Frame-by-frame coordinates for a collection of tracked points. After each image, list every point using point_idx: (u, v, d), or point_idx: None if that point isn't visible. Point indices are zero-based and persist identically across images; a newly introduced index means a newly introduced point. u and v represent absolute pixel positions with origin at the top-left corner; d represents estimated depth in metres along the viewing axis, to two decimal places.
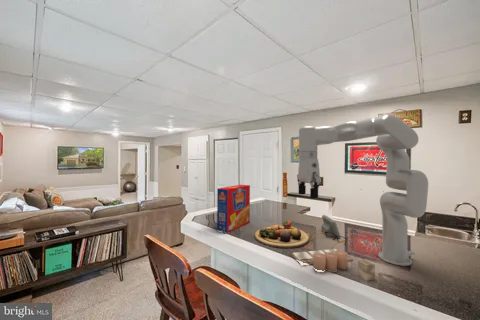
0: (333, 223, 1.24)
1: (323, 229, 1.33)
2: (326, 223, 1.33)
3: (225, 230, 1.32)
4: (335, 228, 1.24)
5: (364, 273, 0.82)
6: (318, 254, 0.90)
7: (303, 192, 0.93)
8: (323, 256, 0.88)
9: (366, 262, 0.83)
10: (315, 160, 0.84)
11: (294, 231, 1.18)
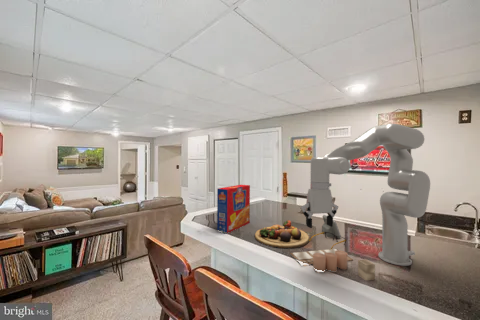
0: (333, 223, 1.24)
1: (323, 229, 1.33)
2: (326, 223, 1.33)
3: (225, 230, 1.32)
4: (335, 228, 1.24)
5: (364, 273, 0.82)
6: (318, 254, 0.90)
7: None
8: (323, 256, 0.88)
9: (366, 262, 0.83)
10: None
11: (294, 231, 1.18)
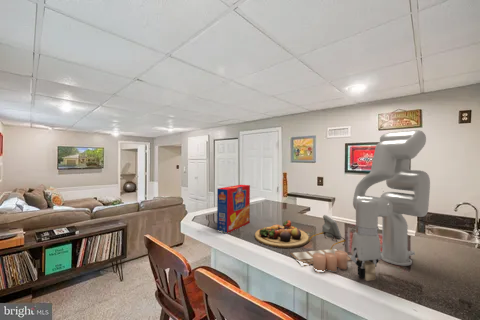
0: (334, 223, 1.24)
1: (324, 229, 1.32)
2: (327, 223, 1.32)
3: (225, 230, 1.32)
4: (336, 228, 1.23)
5: None
6: (318, 254, 0.90)
7: None
8: (323, 256, 0.88)
9: (366, 262, 0.83)
10: None
11: (294, 231, 1.18)
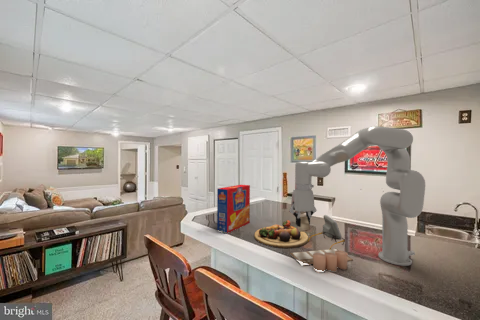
0: (334, 223, 1.23)
1: (324, 229, 1.32)
2: (327, 223, 1.32)
3: (225, 230, 1.32)
4: (336, 228, 1.23)
5: None
6: (318, 254, 0.90)
7: None
8: (323, 256, 0.88)
9: None
10: None
11: (294, 231, 1.18)
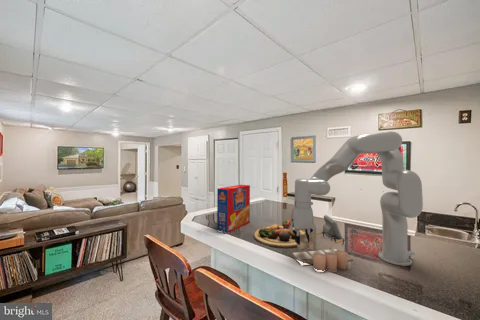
0: (334, 223, 1.23)
1: (324, 229, 1.32)
2: (327, 223, 1.32)
3: (225, 230, 1.32)
4: (336, 228, 1.23)
5: None
6: (318, 254, 0.90)
7: None
8: (323, 256, 0.88)
9: None
10: None
11: None
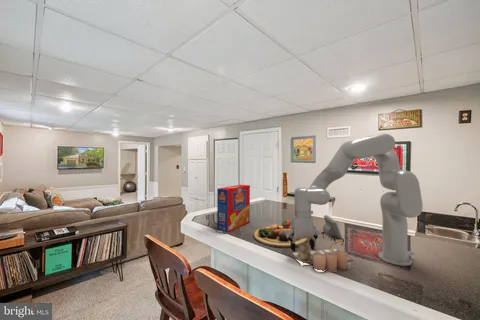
0: (334, 223, 1.23)
1: (324, 229, 1.32)
2: (328, 223, 1.32)
3: (225, 230, 1.32)
4: (336, 228, 1.23)
5: (301, 253, 0.96)
6: (318, 254, 0.90)
7: None
8: (323, 256, 0.88)
9: (304, 244, 0.98)
10: None
11: None
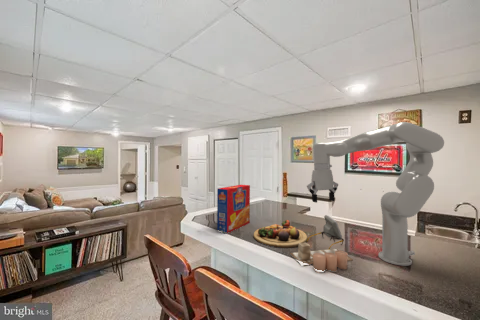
0: (334, 223, 1.23)
1: (325, 229, 1.32)
2: (328, 223, 1.32)
3: (225, 230, 1.32)
4: (336, 228, 1.23)
5: (301, 253, 0.96)
6: (318, 254, 0.90)
7: None
8: (323, 256, 0.88)
9: (304, 244, 0.98)
10: None
11: (293, 230, 1.19)
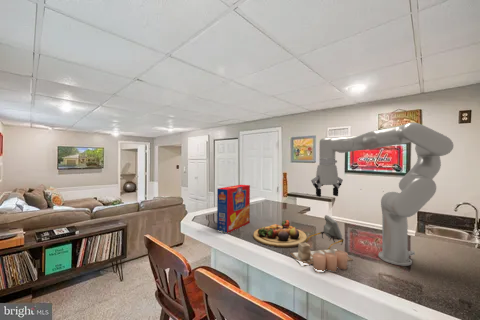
0: (334, 223, 1.23)
1: (325, 229, 1.32)
2: (328, 223, 1.32)
3: (225, 230, 1.32)
4: (336, 228, 1.23)
5: (301, 253, 0.96)
6: (318, 254, 0.90)
7: None
8: (323, 256, 0.88)
9: (304, 244, 0.98)
10: None
11: (292, 230, 1.19)
